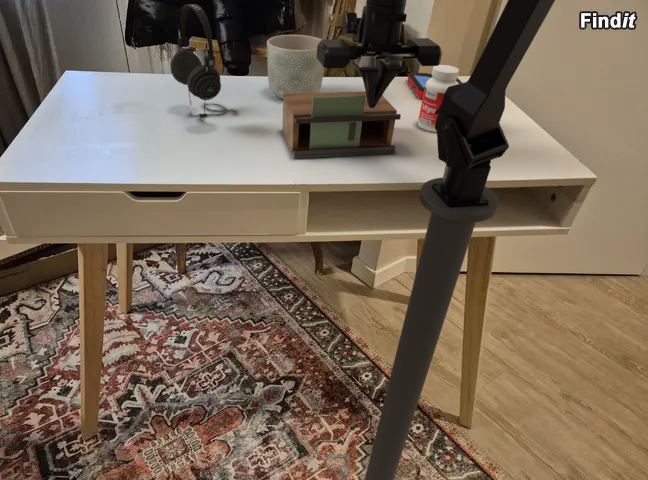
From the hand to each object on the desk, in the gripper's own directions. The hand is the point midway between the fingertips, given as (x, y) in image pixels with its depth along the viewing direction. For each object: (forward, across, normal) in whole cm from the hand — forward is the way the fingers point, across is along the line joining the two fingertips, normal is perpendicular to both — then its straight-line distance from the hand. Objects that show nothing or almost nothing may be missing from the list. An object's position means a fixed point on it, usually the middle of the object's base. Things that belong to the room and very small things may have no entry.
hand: (371, 107), depth 83 cm
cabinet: (+8, +4, -5) cm, 10 cm away
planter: (+8, +7, -30) cm, 32 cm away
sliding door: (+7, +6, 0) cm, 9 cm away
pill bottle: (+8, -17, -10) cm, 21 cm away
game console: (+8, -26, -30) cm, 41 cm away
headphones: (+8, +26, -18) cm, 33 cm away
